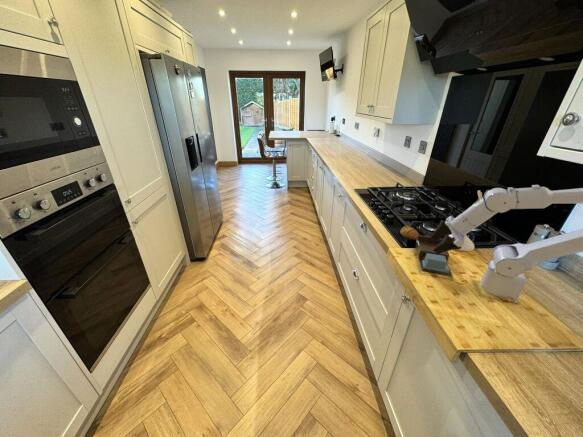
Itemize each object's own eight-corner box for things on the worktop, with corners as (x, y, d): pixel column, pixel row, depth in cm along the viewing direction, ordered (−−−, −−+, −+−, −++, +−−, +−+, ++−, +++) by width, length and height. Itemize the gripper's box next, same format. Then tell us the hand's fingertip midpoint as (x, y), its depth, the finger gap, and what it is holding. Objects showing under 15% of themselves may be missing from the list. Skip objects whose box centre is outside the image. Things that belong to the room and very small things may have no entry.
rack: (440, 252, 98) (445, 239, 95) (452, 279, 82) (457, 265, 80) (414, 247, 101) (418, 234, 98) (420, 273, 85) (425, 259, 82)
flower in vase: (468, 257, 94) (492, 199, 83) (437, 245, 102) (456, 191, 91) (477, 246, 102) (500, 191, 91) (448, 235, 110) (466, 184, 99)
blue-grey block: (445, 266, 87) (449, 256, 85) (448, 273, 84) (452, 263, 82) (422, 262, 90) (425, 252, 88) (423, 268, 86) (426, 258, 84)
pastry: (424, 241, 106) (426, 233, 104) (412, 243, 104) (414, 236, 102) (408, 231, 114) (410, 224, 112) (397, 233, 112) (398, 226, 110)
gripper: (454, 202, 79) (422, 227, 88) (463, 225, 68) (426, 251, 76) (471, 213, 79) (438, 237, 88) (484, 238, 68) (444, 263, 76)
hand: (434, 245), depth 82 cm, fingers open, 7 cm apart
